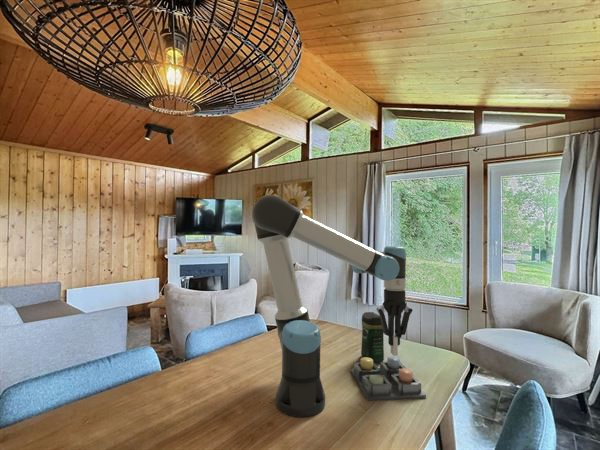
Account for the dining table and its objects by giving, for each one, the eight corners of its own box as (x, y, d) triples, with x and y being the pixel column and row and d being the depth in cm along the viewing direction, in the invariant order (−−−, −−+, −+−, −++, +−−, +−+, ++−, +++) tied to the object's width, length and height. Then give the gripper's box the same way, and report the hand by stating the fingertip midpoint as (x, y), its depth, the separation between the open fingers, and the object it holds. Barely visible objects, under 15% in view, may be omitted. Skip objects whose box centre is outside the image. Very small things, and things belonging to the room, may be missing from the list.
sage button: (372, 390, 102) (372, 381, 102) (367, 384, 106) (367, 375, 106) (385, 390, 103) (385, 381, 103) (380, 383, 107) (380, 374, 107)
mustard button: (362, 371, 112) (362, 362, 112) (358, 365, 116) (359, 357, 116) (374, 370, 112) (374, 362, 113) (370, 365, 117) (370, 357, 117)
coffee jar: (387, 363, 127) (387, 316, 127) (368, 364, 125) (369, 317, 125) (375, 353, 136) (376, 310, 136) (358, 355, 134) (359, 311, 134)
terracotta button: (402, 384, 103) (402, 374, 103) (396, 377, 108) (396, 368, 108) (415, 383, 104) (415, 374, 104) (408, 377, 108) (409, 368, 108)
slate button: (390, 370, 113) (390, 361, 113) (385, 364, 117) (385, 356, 117) (401, 369, 114) (402, 361, 114) (396, 364, 118) (396, 356, 118)
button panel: (367, 400, 99) (368, 388, 99) (350, 371, 119) (350, 361, 119) (425, 397, 101) (426, 385, 101) (399, 369, 121) (399, 359, 121)
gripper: (380, 291, 111) (380, 359, 111) (416, 290, 113) (416, 357, 112) (373, 287, 119) (373, 350, 119) (407, 286, 120) (406, 349, 120)
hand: (394, 354), depth 116 cm, fingers closed
